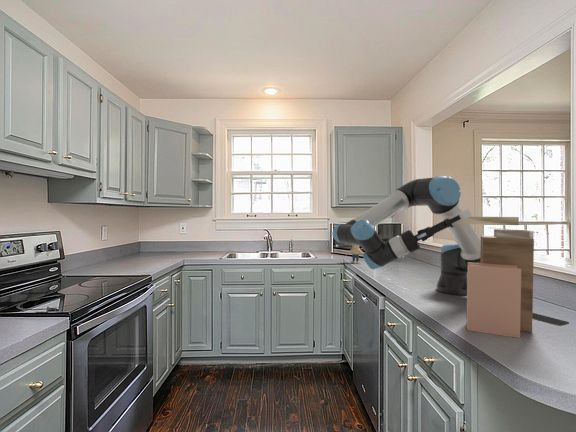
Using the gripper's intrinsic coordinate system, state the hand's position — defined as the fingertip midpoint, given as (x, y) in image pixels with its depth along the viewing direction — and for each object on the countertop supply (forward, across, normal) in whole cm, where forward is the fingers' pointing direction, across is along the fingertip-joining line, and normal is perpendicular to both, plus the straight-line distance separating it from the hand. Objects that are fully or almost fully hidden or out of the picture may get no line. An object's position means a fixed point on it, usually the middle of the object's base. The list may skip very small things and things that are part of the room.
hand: (469, 212), depth 107 cm
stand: (-9, -9, -39) cm, 41 cm away
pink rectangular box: (-13, 0, -37) cm, 39 cm away
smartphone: (+2, -24, -46) cm, 52 cm away
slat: (+1, 0, -5) cm, 5 cm away
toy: (-79, -117, +1) cm, 141 cm away
